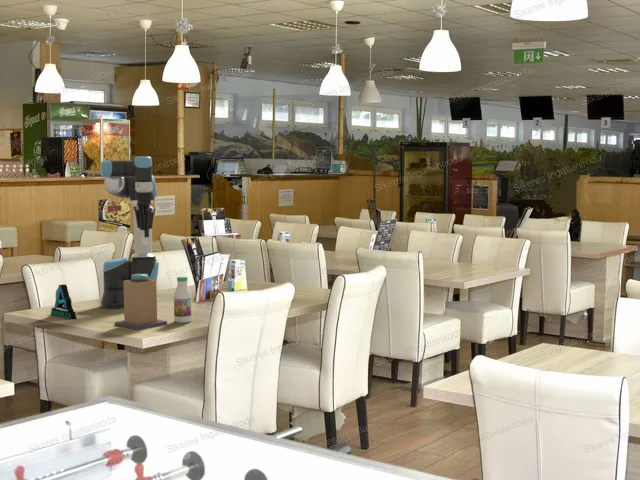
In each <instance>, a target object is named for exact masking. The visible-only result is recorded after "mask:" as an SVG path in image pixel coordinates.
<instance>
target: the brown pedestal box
mask: <svg viewBox="0 0 640 480" xmlns="http://www.w3.org/2000/svg"><path fill="white" fill-rule="evenodd" d="M123 283H124V308H123V312H124V315H123V316H124V320H123V319H122V320H117V321H114V326H115V327H121V328H127V329H131V330H136V331H139V330H145V329H150V328H155V326H156V327H161V325H162V326H167V325H168V320H164V319H159V318H158V301H157V300H158V299H157V297H158V296H157V291H158V290H157V289H158V288H157V281H156V280H150V279H149V280H142V282H138V281H135V280H126V281H123Z"/></svg>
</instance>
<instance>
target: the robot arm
mask: <svg viewBox="0 0 640 480" xmlns="http://www.w3.org/2000/svg"><path fill="white" fill-rule="evenodd" d="M100 175H101V177H102V178H104V181H103V186H104V189H105V191H107V193H109V194H110V195H112V196H115V197H118V198H120V199H129V202H130V203H131V204H132V205H133V235H134V254H133V255H132V256H131V260H128V258H127V257H120V258H119V257H118V258H117V257H116V258H113V259H109V260H106V261H104V262H103V266H102V267H103V268H102V269H103V270H102V272H103V293H102V295H101V300H100V308H102V309H124V283H123V281H126V280H132V275H133V274H148V277H149V279H150V280H156V282H157V280H158V274H159V264H160V262H159V261H160V260H159V259H156V258H157V257H156V255H155V254H154V253H153V224H154V216H155V211H156V207H153V206H152V204H153V203H154V202H155V199H156V198H157V197H158V193H157V187H156V180H155V176H154V175H153V161H152V157H151V156H143V155H142V156H140V155H139V156H135V157H134V160H110V159H108V160H102V161H101V162H100Z"/></svg>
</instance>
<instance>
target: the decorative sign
mask: <svg viewBox="0 0 640 480" xmlns="http://www.w3.org/2000/svg"><path fill="white" fill-rule="evenodd" d="M50 315H52V316H54V315H55V316H54V317H59V316H60V317H59V318H62V317H64V319H67V318H68V320H71V319H73V320H77V315H76V311H75V310H74V308H73V305H72V298H71V296H70V293H69V289H68V287H67V284H58V288H56V291H55V302H54V307H51V309H50Z"/></svg>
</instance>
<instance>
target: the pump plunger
mask: <svg viewBox="0 0 640 480" xmlns="http://www.w3.org/2000/svg"><path fill="white" fill-rule="evenodd" d="M132 280H135V281H138V282H142V280H149V277H148V274H133V275H132Z"/></svg>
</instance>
